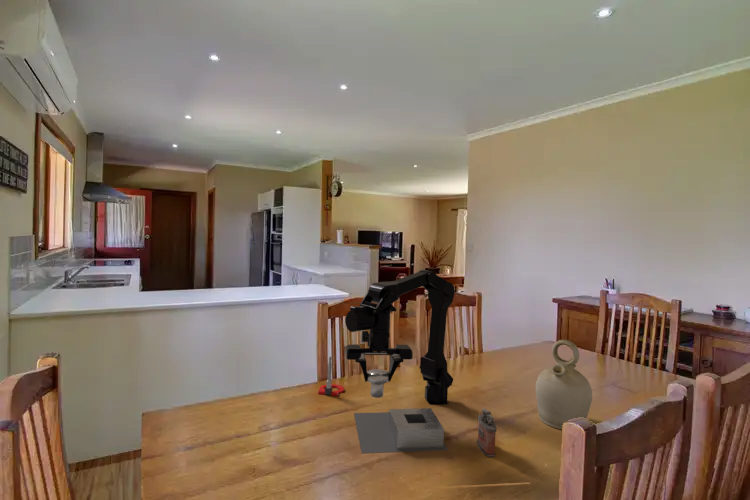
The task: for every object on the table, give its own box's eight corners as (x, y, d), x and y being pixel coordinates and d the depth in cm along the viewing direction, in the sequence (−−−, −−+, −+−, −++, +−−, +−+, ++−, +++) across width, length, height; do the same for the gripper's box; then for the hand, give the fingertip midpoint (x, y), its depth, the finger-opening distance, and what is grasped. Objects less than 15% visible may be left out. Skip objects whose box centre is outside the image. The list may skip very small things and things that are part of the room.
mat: (425, 412, 125) (425, 411, 125) (448, 451, 103) (448, 450, 103) (353, 414, 122) (353, 413, 121) (361, 454, 100) (361, 453, 100)
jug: (566, 438, 112) (572, 349, 111) (522, 415, 126) (527, 335, 125) (601, 428, 119) (607, 344, 118) (556, 407, 133) (561, 331, 132)
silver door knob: (385, 390, 121) (386, 369, 120) (389, 399, 114) (390, 376, 114) (364, 390, 120) (365, 369, 119) (367, 400, 113) (368, 377, 113)
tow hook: (323, 386, 144) (315, 395, 134) (325, 349, 144) (317, 356, 134) (346, 388, 142) (340, 398, 133) (348, 351, 142) (342, 358, 133)
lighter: (474, 442, 108) (476, 405, 108) (486, 442, 108) (488, 405, 108) (484, 459, 100) (486, 419, 100) (498, 458, 100) (500, 419, 100)
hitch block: (430, 425, 116) (430, 408, 115) (443, 448, 104) (444, 428, 103) (388, 426, 114) (389, 409, 114) (396, 449, 102) (397, 430, 102)
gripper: (405, 321, 125) (403, 371, 126) (345, 321, 123) (343, 371, 123) (414, 330, 114) (411, 385, 115) (347, 330, 112) (345, 385, 112)
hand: (377, 381), depth 117 cm, fingers closed on silver door knob, 6 cm apart
